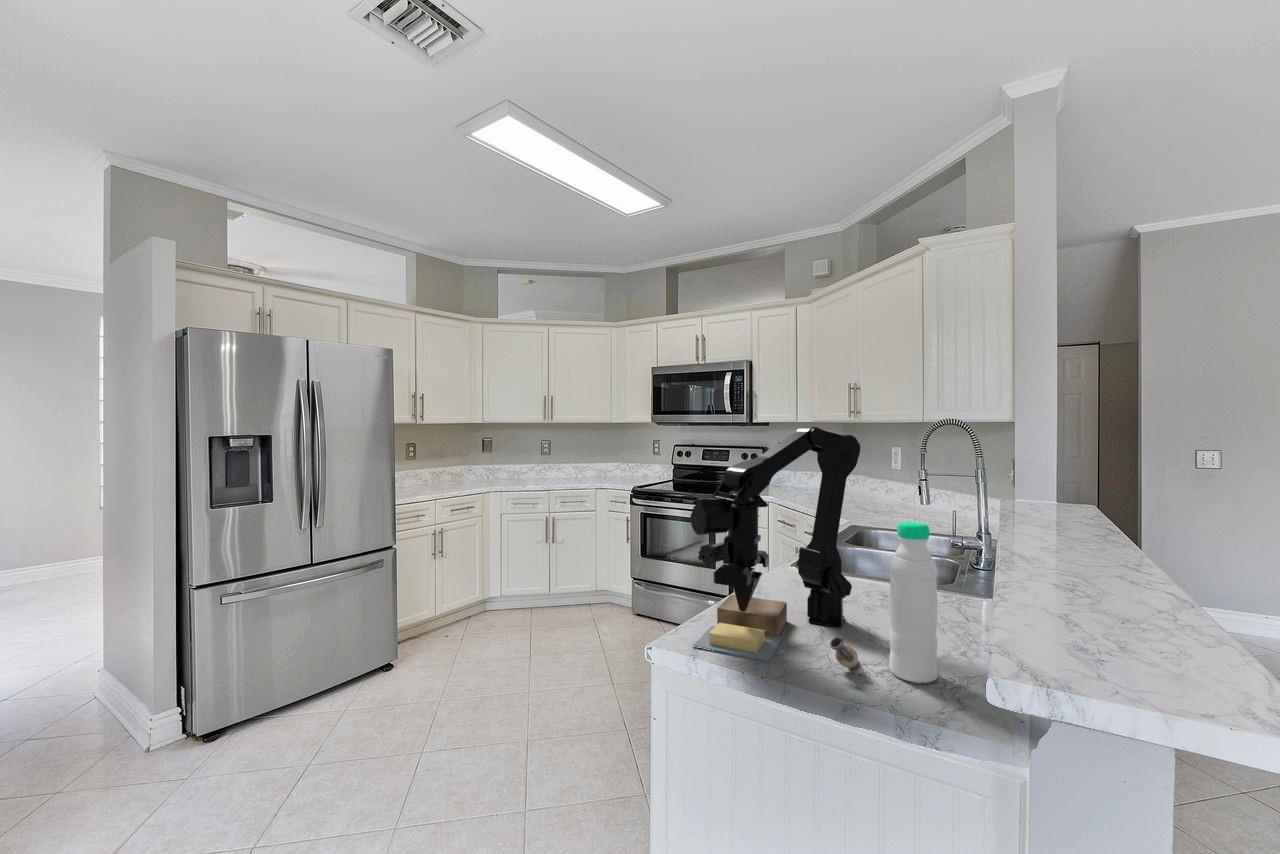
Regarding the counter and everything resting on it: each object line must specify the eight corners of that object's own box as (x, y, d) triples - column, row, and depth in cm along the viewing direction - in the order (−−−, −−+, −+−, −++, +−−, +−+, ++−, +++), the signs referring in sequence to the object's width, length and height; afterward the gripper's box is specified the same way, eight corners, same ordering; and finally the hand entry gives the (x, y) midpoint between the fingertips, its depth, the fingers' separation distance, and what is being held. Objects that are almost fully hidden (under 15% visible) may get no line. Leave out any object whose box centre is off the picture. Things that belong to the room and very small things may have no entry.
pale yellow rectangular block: (756, 641, 97) (756, 652, 97) (764, 630, 103) (764, 640, 103) (709, 632, 101) (709, 643, 101) (719, 622, 107) (719, 632, 107)
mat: (781, 639, 104) (781, 637, 104) (768, 661, 94) (768, 659, 94) (711, 627, 110) (711, 625, 110) (692, 647, 100) (692, 645, 100)
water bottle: (881, 666, 93) (881, 520, 93) (920, 664, 93) (920, 519, 93) (904, 686, 86) (904, 527, 86) (947, 684, 86) (947, 527, 86)
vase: (840, 682, 87) (838, 644, 87) (822, 670, 92) (820, 634, 93) (870, 678, 88) (868, 640, 88) (851, 666, 93) (849, 631, 94)
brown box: (786, 621, 114) (786, 602, 114) (776, 637, 105) (776, 617, 105) (731, 612, 119) (731, 594, 119) (717, 627, 110) (717, 608, 110)
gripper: (718, 520, 118) (717, 592, 118) (687, 535, 101) (686, 619, 101) (769, 524, 113) (769, 599, 113) (746, 541, 96) (745, 629, 96)
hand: (742, 610), depth 106 cm, fingers closed
